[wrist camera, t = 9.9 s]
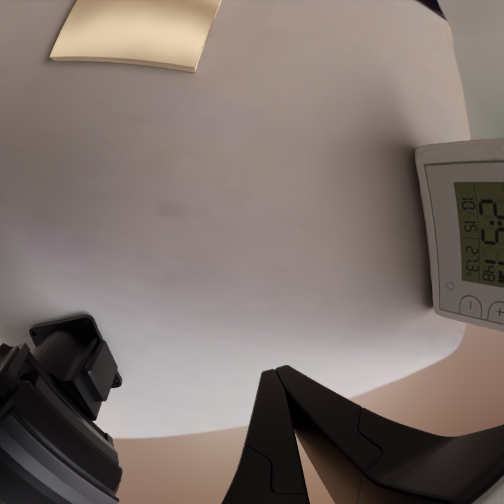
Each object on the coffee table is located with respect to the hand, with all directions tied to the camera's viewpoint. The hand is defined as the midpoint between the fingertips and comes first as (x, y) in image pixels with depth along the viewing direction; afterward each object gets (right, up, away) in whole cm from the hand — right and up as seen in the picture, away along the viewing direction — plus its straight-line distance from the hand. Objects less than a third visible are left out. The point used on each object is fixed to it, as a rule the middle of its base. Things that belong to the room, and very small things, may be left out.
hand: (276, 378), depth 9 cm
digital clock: (+16, +6, +14) cm, 23 cm away
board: (-7, +28, +4) cm, 29 cm away
